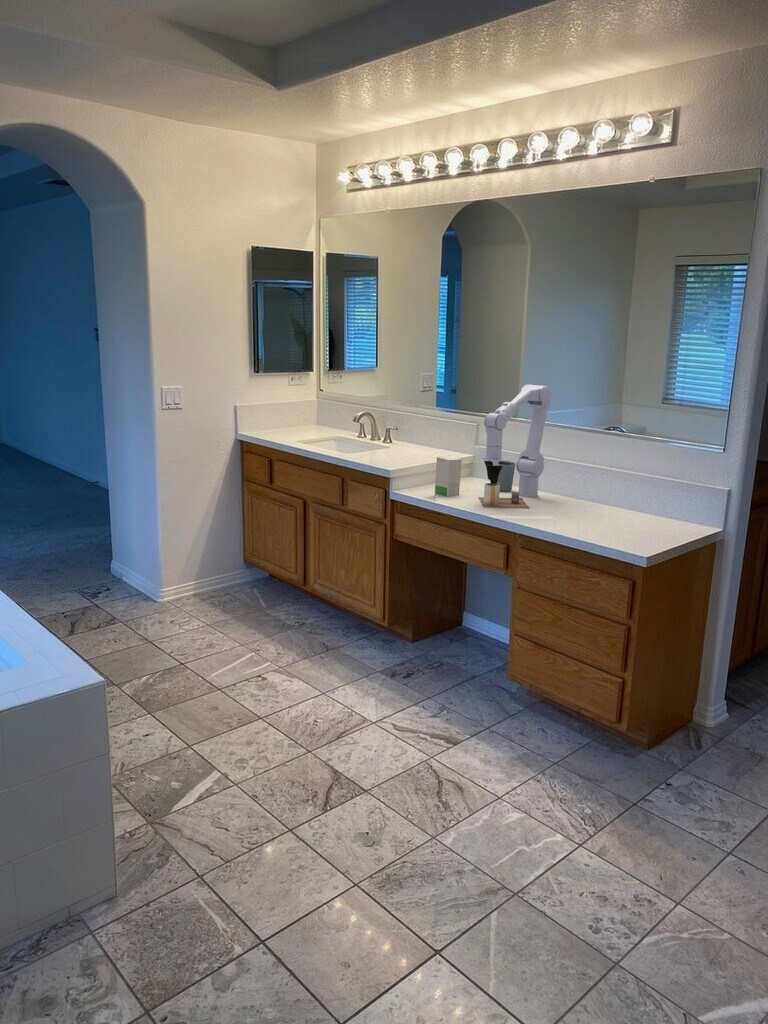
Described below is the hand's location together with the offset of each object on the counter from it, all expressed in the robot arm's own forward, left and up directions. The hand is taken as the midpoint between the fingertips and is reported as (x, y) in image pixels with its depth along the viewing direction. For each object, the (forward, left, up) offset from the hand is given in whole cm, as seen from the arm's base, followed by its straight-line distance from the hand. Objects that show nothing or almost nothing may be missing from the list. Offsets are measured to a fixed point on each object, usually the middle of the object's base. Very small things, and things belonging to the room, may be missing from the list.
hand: (492, 481), depth 301 cm
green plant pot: (-26, +8, -9) cm, 29 cm away
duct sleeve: (0, 0, -8) cm, 8 cm away
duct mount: (0, +5, -9) cm, 10 cm away
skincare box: (-15, -15, -9) cm, 23 cm away
